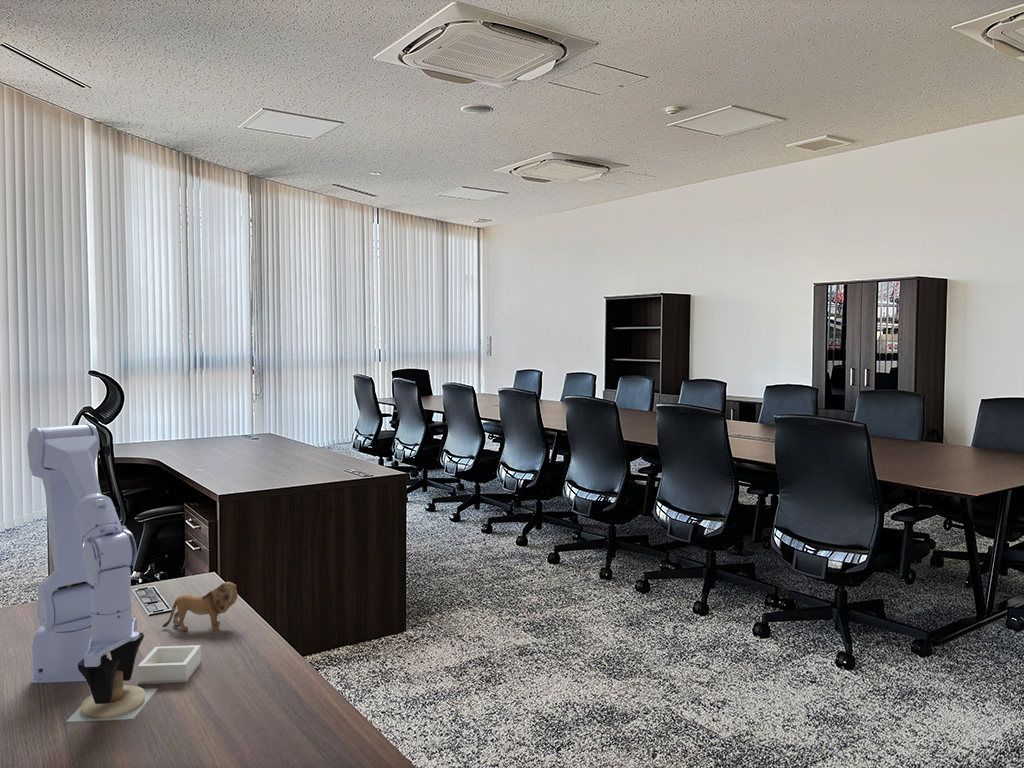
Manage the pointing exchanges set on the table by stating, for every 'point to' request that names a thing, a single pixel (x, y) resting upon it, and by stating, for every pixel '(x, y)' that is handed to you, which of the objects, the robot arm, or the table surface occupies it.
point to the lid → (115, 700)
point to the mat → (130, 715)
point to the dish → (169, 664)
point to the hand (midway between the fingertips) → (113, 691)
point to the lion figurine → (204, 605)
